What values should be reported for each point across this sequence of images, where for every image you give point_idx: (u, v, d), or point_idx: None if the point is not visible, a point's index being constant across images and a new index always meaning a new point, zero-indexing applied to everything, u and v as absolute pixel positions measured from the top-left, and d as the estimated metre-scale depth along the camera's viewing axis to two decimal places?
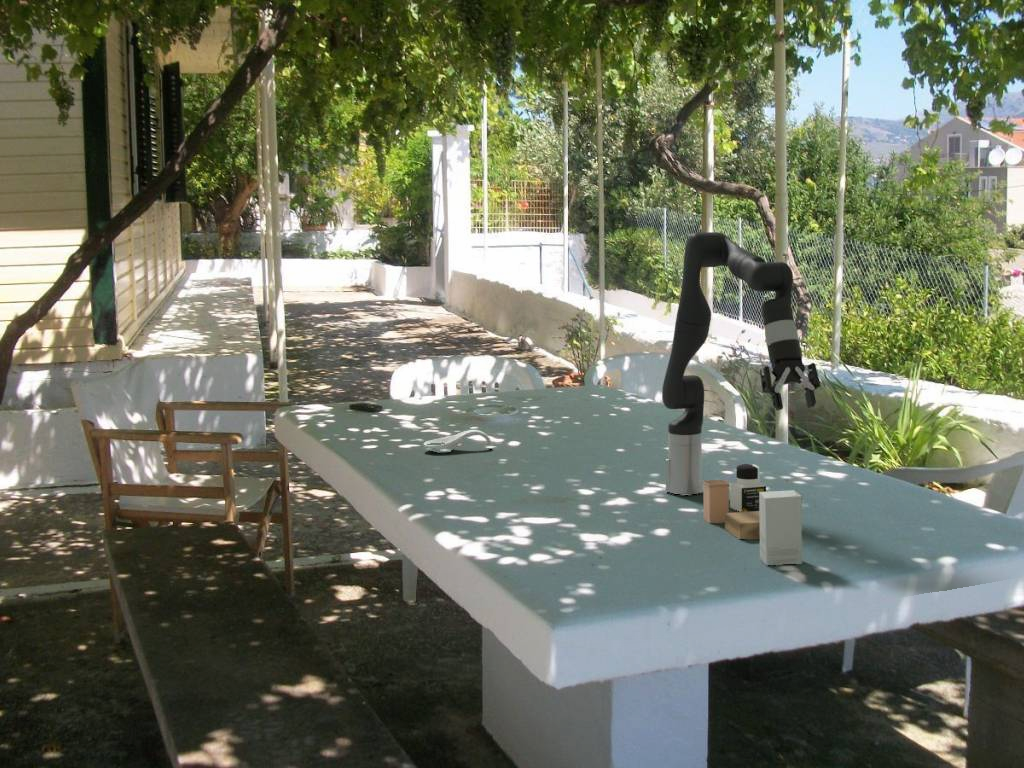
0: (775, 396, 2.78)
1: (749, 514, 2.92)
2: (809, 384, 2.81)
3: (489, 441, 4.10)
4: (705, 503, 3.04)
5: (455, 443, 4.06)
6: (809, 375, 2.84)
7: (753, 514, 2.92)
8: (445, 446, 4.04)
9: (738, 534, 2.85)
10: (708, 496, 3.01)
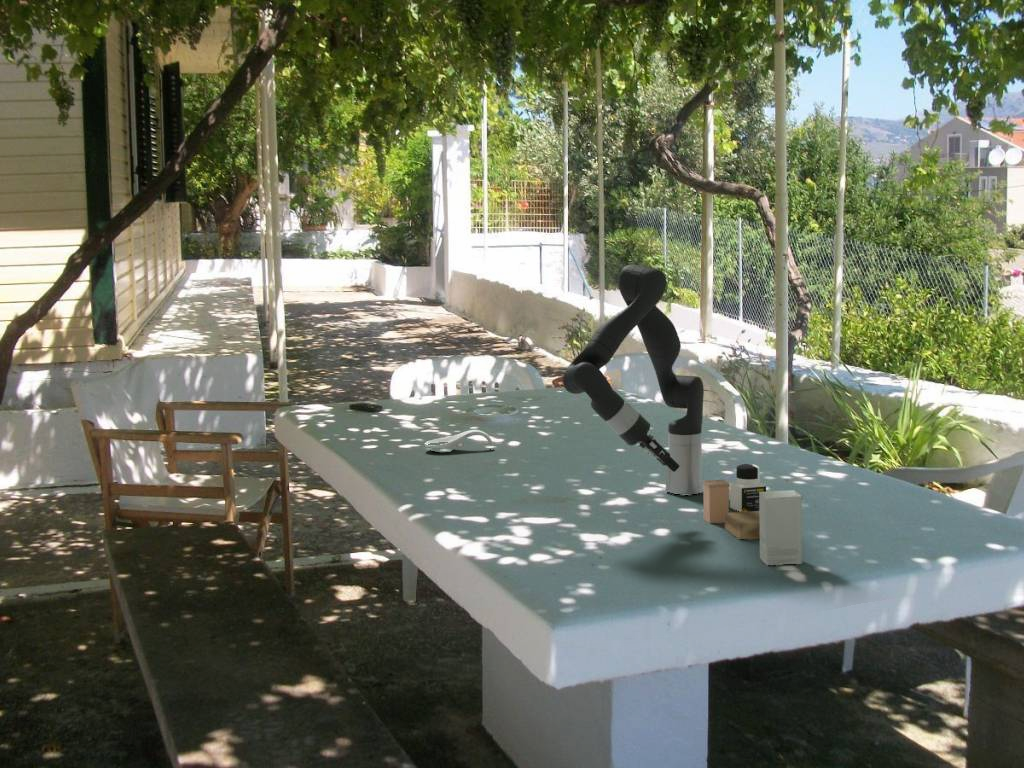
0: None
1: (749, 514, 2.92)
2: (658, 458, 2.95)
3: (490, 441, 4.09)
4: (705, 503, 3.04)
5: (456, 443, 4.06)
6: None
7: (753, 514, 2.92)
8: (446, 446, 4.04)
9: (738, 534, 2.85)
10: (708, 496, 3.01)
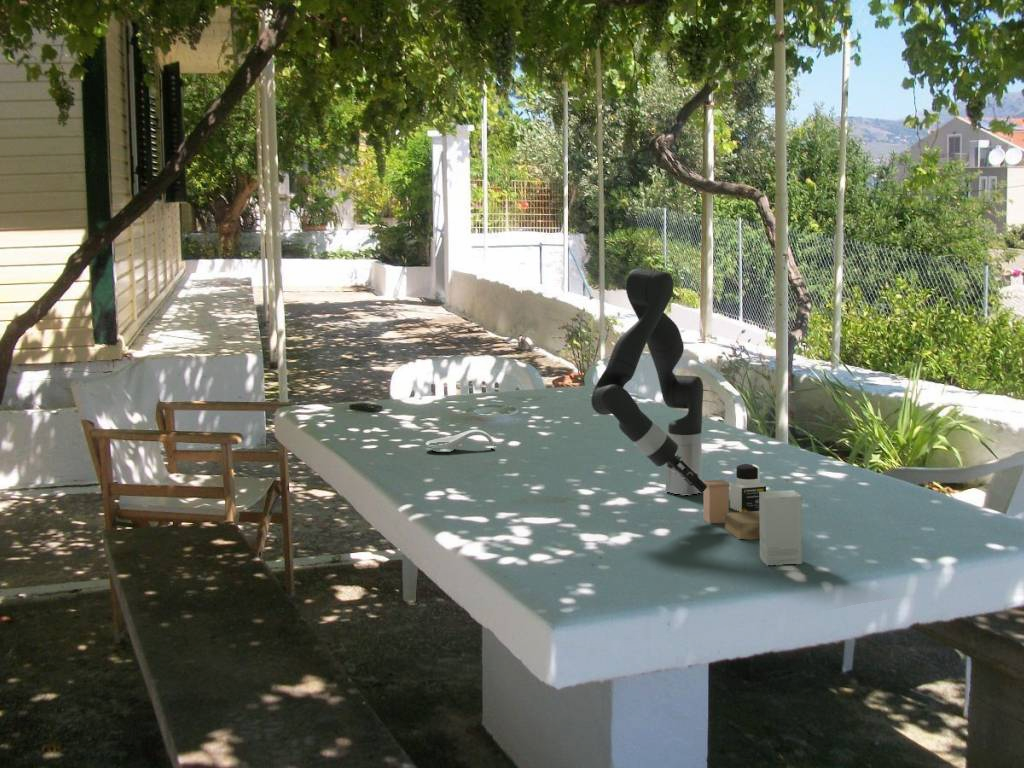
0: None
1: (749, 514, 2.92)
2: (686, 479, 2.97)
3: (491, 441, 4.09)
4: (705, 503, 3.04)
5: (456, 443, 4.06)
6: None
7: (753, 514, 2.92)
8: (446, 446, 4.04)
9: (738, 534, 2.85)
10: (708, 496, 3.01)
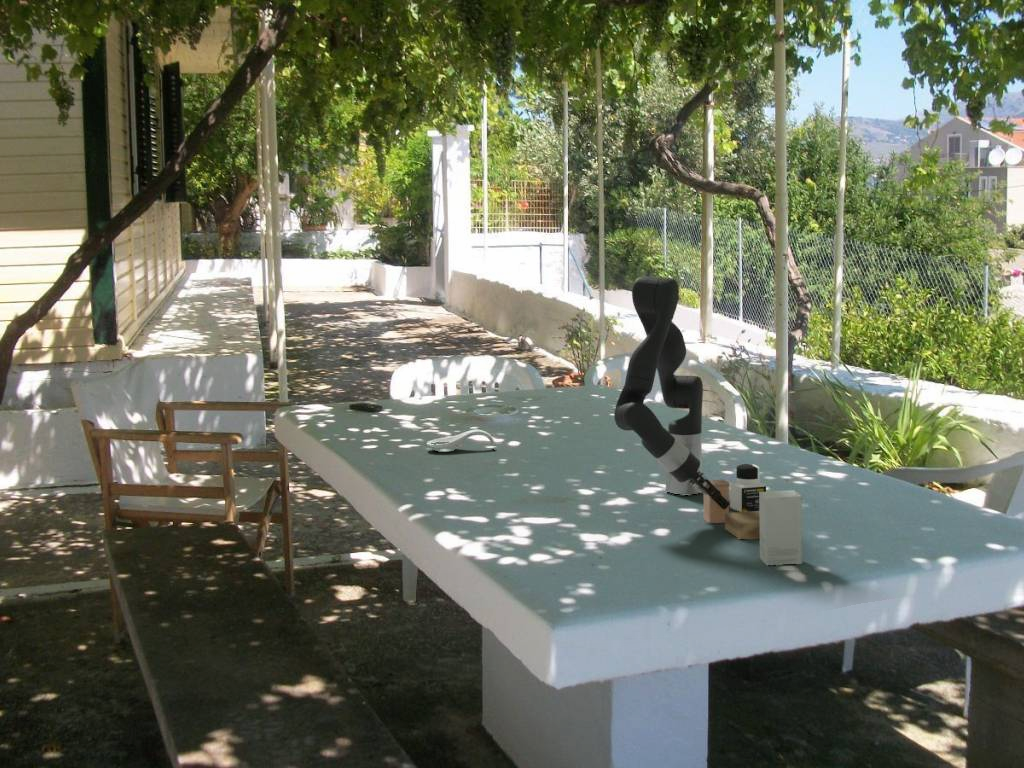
0: None
1: (749, 514, 2.92)
2: (709, 496, 2.99)
3: (492, 441, 4.09)
4: (705, 503, 3.04)
5: (457, 443, 4.06)
6: None
7: (753, 514, 2.92)
8: (447, 446, 4.05)
9: (738, 534, 2.85)
10: (708, 496, 3.01)
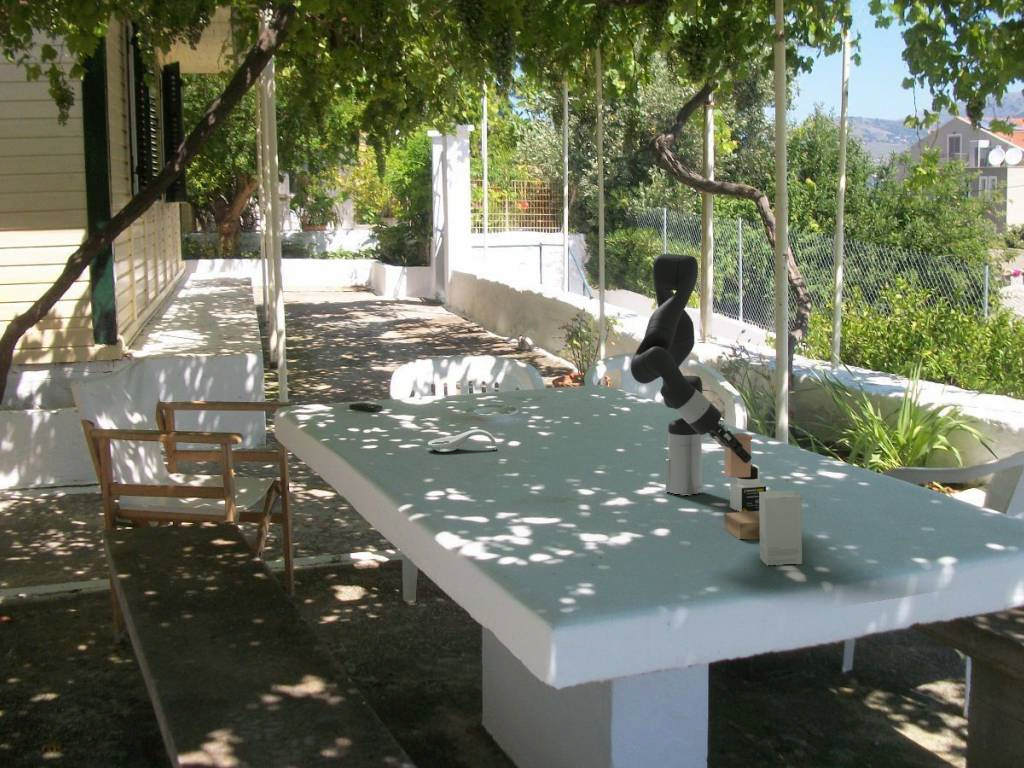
0: None
1: (749, 514, 2.92)
2: None
3: (493, 441, 4.09)
4: (726, 457, 2.93)
5: (458, 442, 4.07)
6: None
7: (753, 514, 2.92)
8: (448, 446, 4.05)
9: (738, 534, 2.85)
10: (729, 449, 2.90)
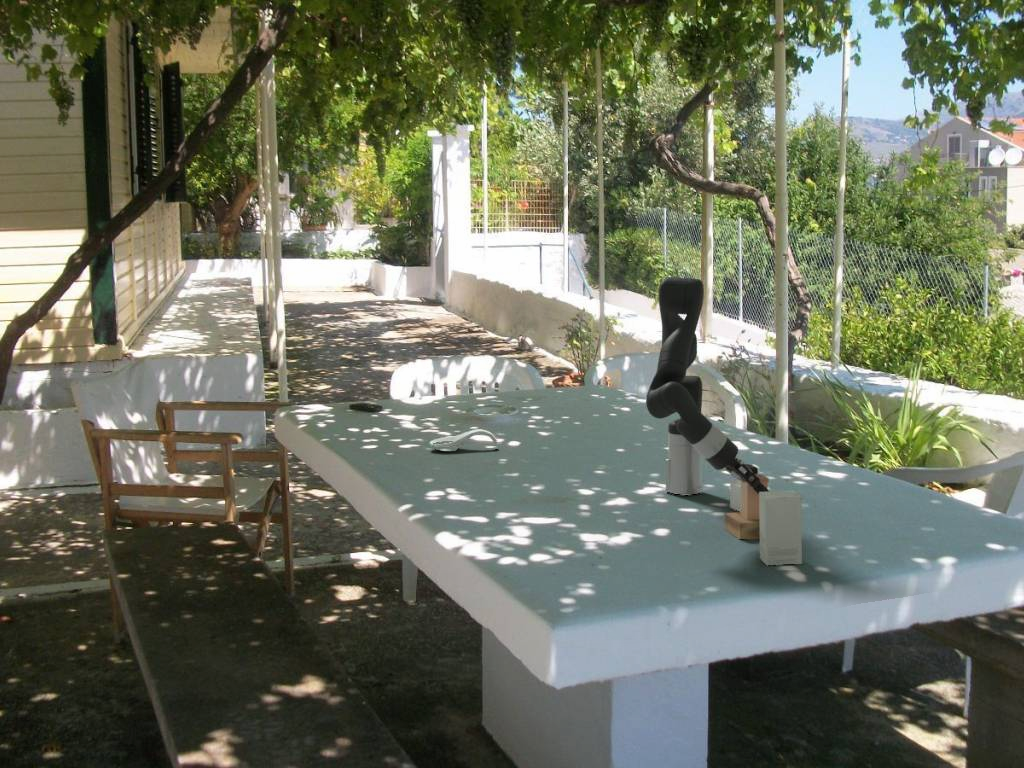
0: None
1: None
2: (747, 483, 2.84)
3: (495, 441, 4.10)
4: (742, 499, 2.89)
5: (460, 442, 4.07)
6: None
7: None
8: (449, 445, 4.06)
9: (738, 534, 2.85)
10: (746, 491, 2.87)
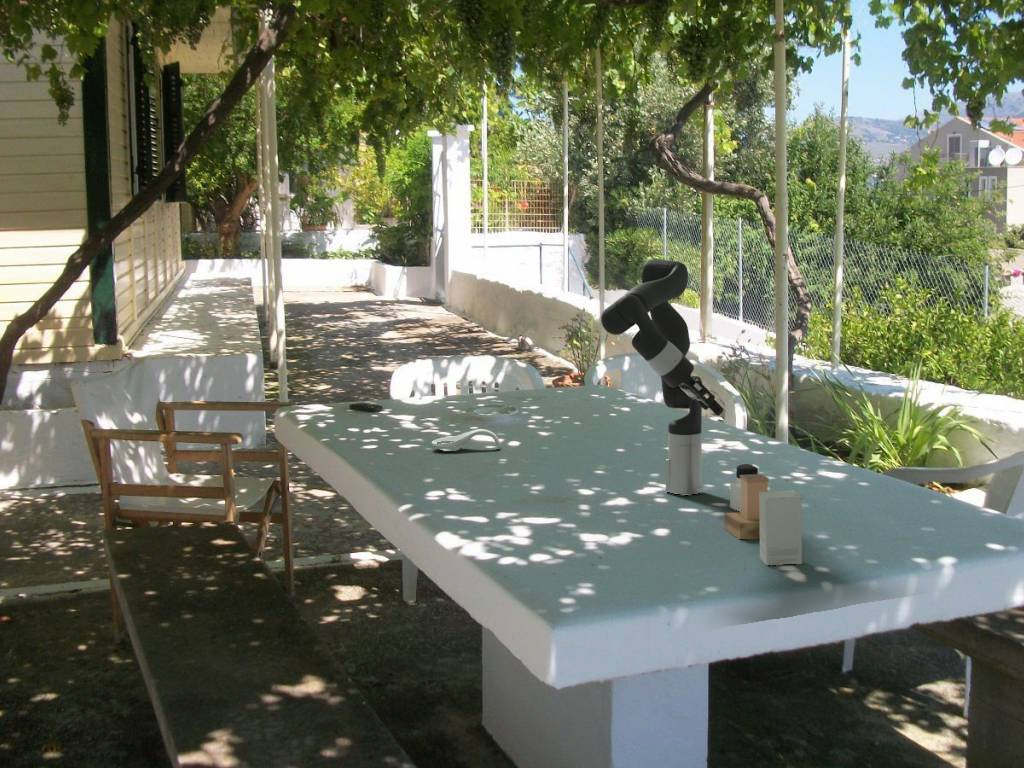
0: None
1: None
2: (702, 401, 2.80)
3: (496, 441, 4.10)
4: (742, 499, 2.89)
5: (461, 442, 4.08)
6: None
7: None
8: (451, 445, 4.06)
9: (738, 534, 2.85)
10: (746, 491, 2.87)
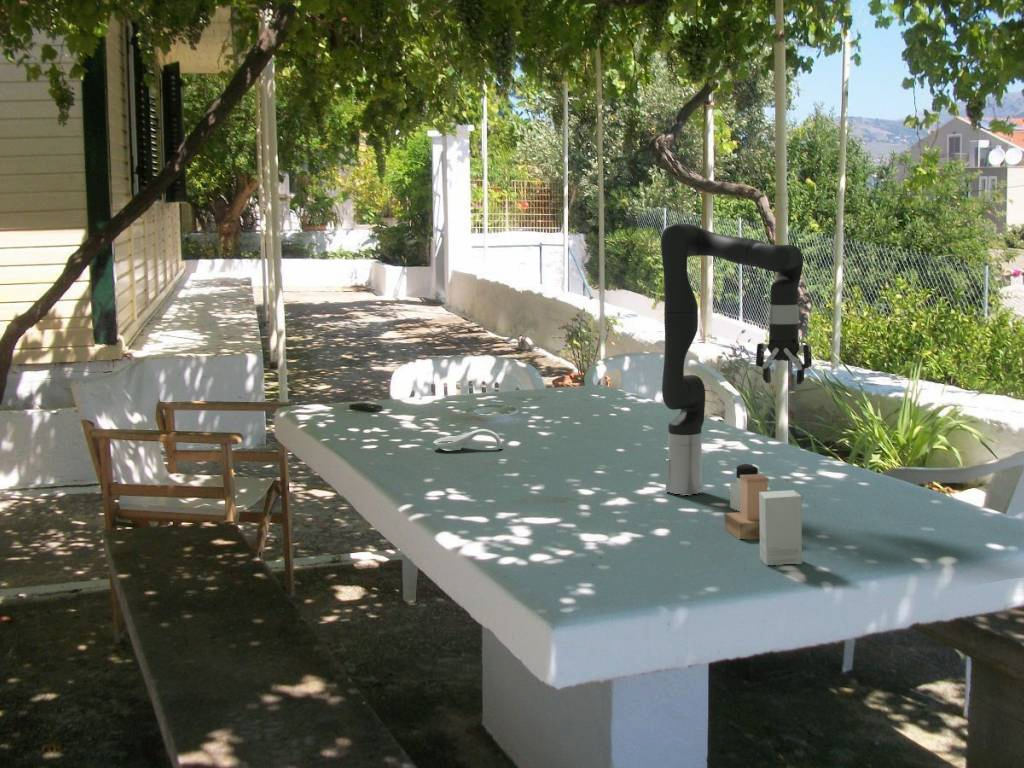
0: (764, 371, 3.15)
1: None
2: (797, 364, 3.09)
3: (498, 441, 4.10)
4: (742, 499, 2.89)
5: (462, 442, 4.08)
6: None
7: None
8: (452, 445, 4.07)
9: (738, 534, 2.85)
10: (746, 491, 2.87)
